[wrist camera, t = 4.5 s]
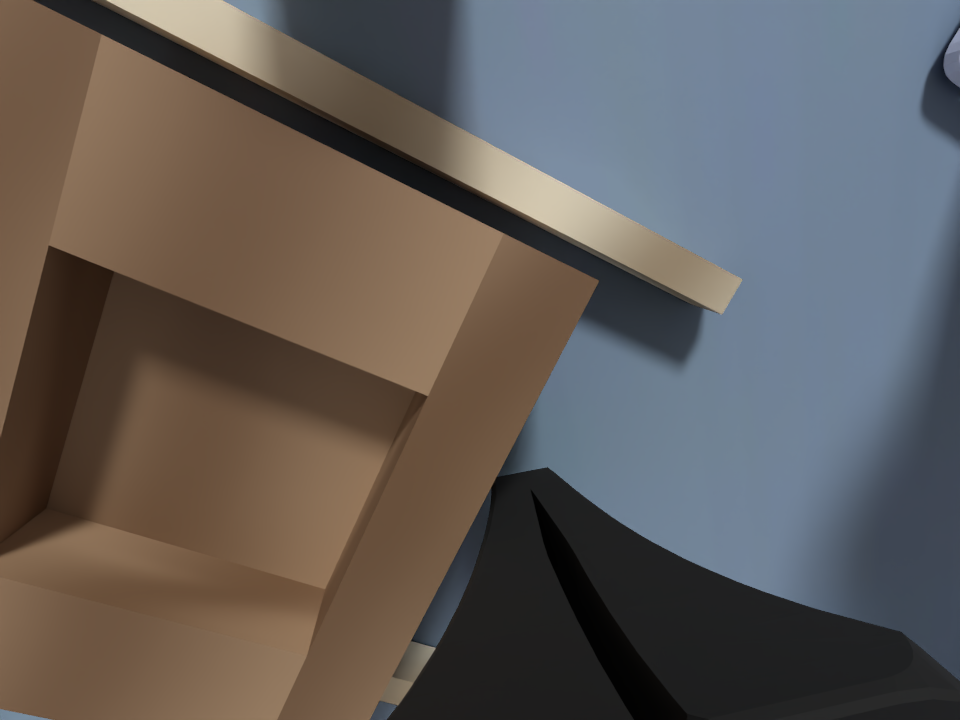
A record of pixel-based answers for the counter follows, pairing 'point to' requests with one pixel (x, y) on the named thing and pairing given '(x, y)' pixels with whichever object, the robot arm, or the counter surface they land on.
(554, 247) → the counter surface
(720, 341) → the counter surface
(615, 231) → the birch rail and backstop
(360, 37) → the counter surface
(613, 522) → the robot arm
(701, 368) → the counter surface
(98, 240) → the walnut block
